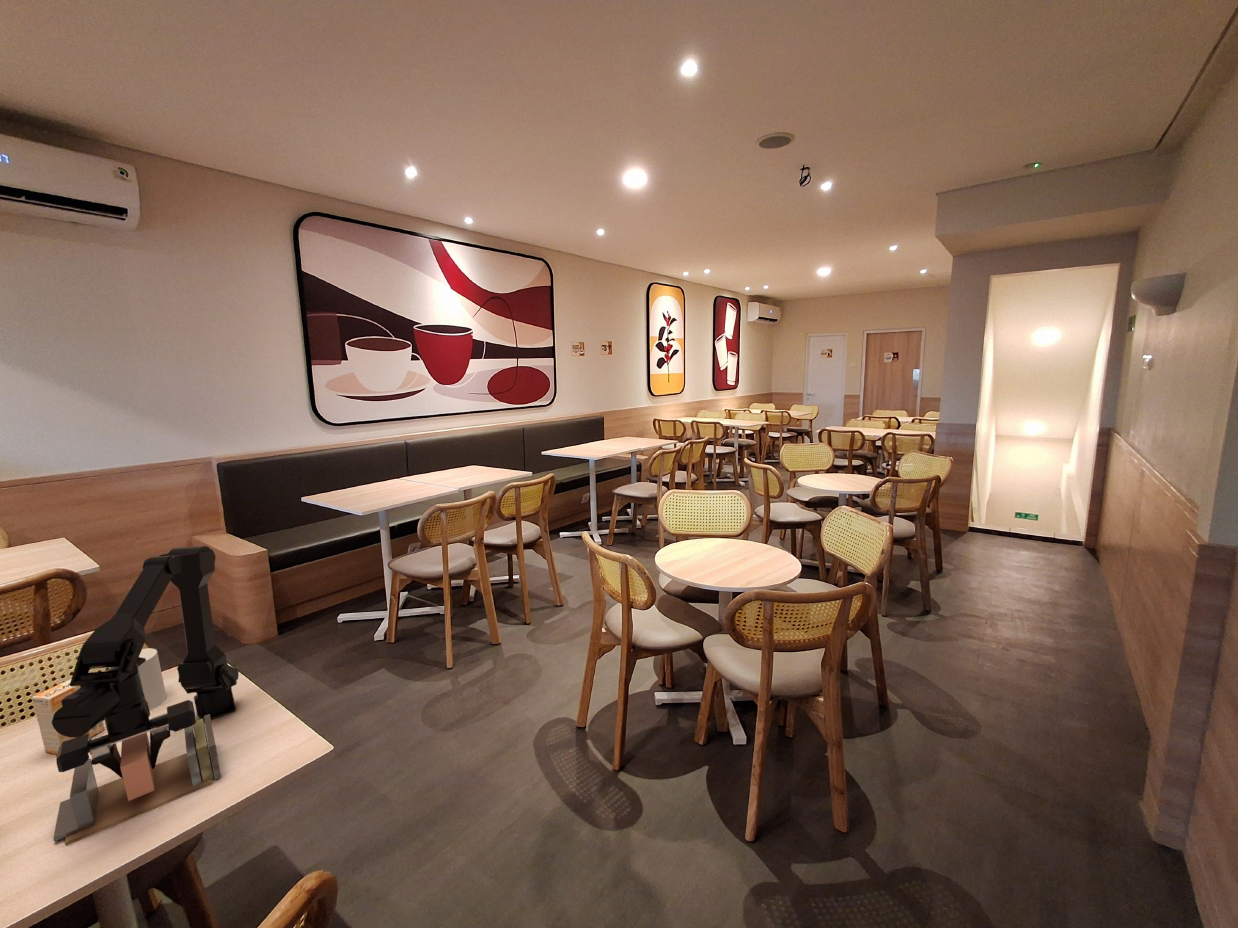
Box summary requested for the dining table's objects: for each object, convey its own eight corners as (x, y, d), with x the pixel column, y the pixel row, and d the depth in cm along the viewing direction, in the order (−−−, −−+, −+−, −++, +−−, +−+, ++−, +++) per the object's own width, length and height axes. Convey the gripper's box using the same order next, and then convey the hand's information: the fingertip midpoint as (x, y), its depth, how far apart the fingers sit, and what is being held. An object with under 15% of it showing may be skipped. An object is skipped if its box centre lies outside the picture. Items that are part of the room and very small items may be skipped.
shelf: (215, 744, 115) (209, 712, 113) (221, 779, 105) (215, 745, 103) (73, 798, 101) (64, 763, 99) (65, 845, 91) (55, 807, 90)
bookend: (98, 790, 102) (90, 758, 101) (94, 824, 94) (86, 790, 93) (60, 804, 99) (52, 771, 97) (54, 841, 91) (44, 806, 90)
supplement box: (62, 756, 112) (48, 699, 109) (44, 752, 113) (29, 697, 110) (107, 729, 120) (94, 675, 117) (89, 726, 121) (76, 673, 118)
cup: (138, 694, 132) (128, 649, 130) (174, 691, 133) (165, 647, 130) (111, 716, 124) (100, 668, 122) (150, 713, 125) (140, 666, 123)
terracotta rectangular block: (153, 762, 106) (146, 731, 105) (154, 790, 100) (146, 757, 98) (129, 772, 104) (121, 740, 103) (128, 800, 98) (120, 767, 96)
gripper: (185, 660, 110) (198, 728, 114) (55, 699, 98) (74, 773, 102) (188, 685, 102) (203, 757, 105) (46, 731, 90) (68, 810, 93)
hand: (139, 772), depth 102 cm, fingers closed on terracotta rectangular block, 4 cm apart
